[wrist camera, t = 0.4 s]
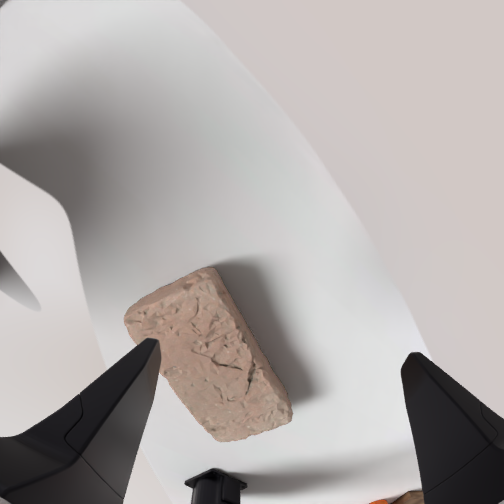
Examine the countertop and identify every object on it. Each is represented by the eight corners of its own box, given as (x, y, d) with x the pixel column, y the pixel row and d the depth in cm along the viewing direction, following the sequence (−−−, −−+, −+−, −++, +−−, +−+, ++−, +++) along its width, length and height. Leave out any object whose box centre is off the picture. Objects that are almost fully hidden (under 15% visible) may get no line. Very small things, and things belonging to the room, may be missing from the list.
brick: (292, 395, 28) (299, 426, 23) (222, 420, 29) (219, 451, 24) (215, 257, 25) (208, 274, 20) (135, 297, 25) (115, 318, 21)
